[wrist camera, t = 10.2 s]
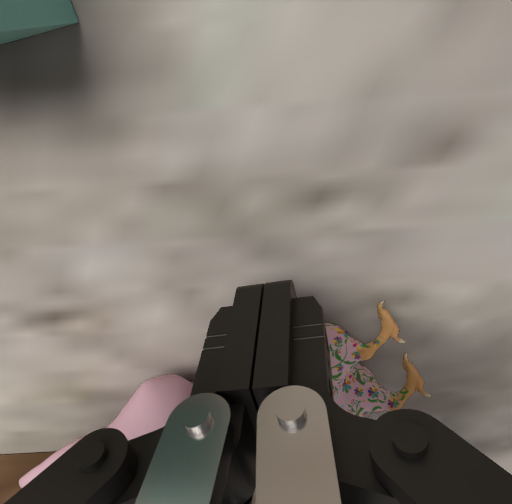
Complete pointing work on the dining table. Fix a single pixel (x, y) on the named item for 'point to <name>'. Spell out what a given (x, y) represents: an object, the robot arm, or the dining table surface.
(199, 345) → the dining table surface
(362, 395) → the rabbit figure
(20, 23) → the channel rails
